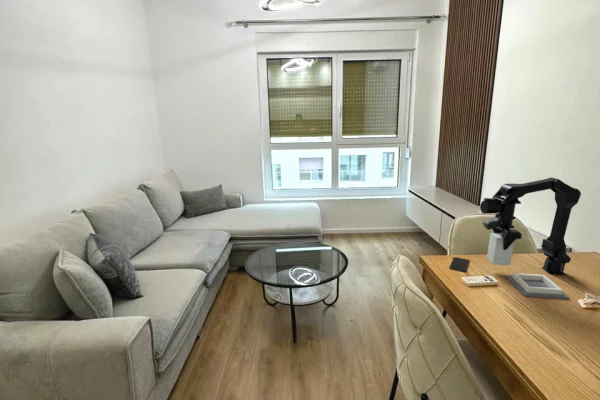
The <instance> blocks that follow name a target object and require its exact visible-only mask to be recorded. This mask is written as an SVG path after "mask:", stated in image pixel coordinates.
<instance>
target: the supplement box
mask: <svg viewBox="0 0 600 400" xmlns="http://www.w3.org/2000/svg"><path fill="white" fill-rule="evenodd" d="M500 235H502V233H494V232H490V234H489V241H488V247H487V254H486V258H487V260H488V261H490V263H491V264H492V265H495V266H511V263H512V256H513V251H514V246H515V241H514V242H513V243H512V244H511V245H510V246H509V247H508V249H507V250H504V249H503V238H502V237H501V236H500Z"/></svg>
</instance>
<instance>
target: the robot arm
mask: <svg viewBox="0 0 600 400" xmlns="http://www.w3.org/2000/svg"><path fill="white" fill-rule="evenodd" d="M547 190H551V191H552V192H554V201H555V203H556V209H555V213H554V217H553V222H552V227H551V229H550V235H549V236H548V237H547V238H543V239H542V243H541V246H540V248H541V251H543V254H544V256H546V259H545V260H544V265H543V266H541V267H542V269H543V270H544V271H546V272H547V273H548V274H550V275H563V276H566V275H567V273H566V272H564V271H565V267H566V264H570V262H571V260H572V258H571V257H570V256H569V255H568V254H567V244H566V242H565V235H566V231H567V229H568V224H569V220H570V217H571V212H572V209H573V207H575V206H576V205H577V204H578V203H579V201H580V198H581V195H582V191H580V189H578V188H575V187H572V186H571V185H569V184H567V183H565V182H564V181H563V180H561V179H560V178H556V177H548V178H545V179H539V180H535V181H529V182H525V183H503V184H502V185H501V186H500V187H499V188H498V190H497V192H495V193H494V194H493V195H492V198H491V197H490V198H489V197H484V198H483V200H482V201H481V202H480V206H479V210H480V213H482V214H486V215H487V214H493V215H494V214H495V215H494V217H489V218H485V219H483V220H482V224H483V228H484V229H486V230H488V231H489V230H491V231H492V233H502V235H500V236H501V237H502V238H503V249H504V250H507V249H508V247H509V246H510V245H511V244H512V243H513V242H514V243H515V241H516V240H521V239H522V238H523V237H522V236H523V234H522V233H521V232H520V231H519V230H518V229H516V228H515V225H513V224H514V223H513V221H514V220H516V218H517V217H516V216H515V209H516V206H517V205H521V204H522V202H521V201H520V200H519V198H523V197H524V196H525V195H528V194H532V193H536V192H541V191H547ZM514 228H515V229H514Z"/></svg>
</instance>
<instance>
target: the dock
mask: <svg viewBox="0 0 600 400" xmlns="http://www.w3.org/2000/svg"><path fill="white" fill-rule="evenodd" d="M504 277H505V278H506V279H507V280H508V281H509V282H510V283H511V284H512V285H513V286H514V287H515V288H516V289H517V291H519V292H520V293H521V295H522V296H524V297H532V298H546V299H561V300H569V299H570V296H569V295H567V294H566V293H565V292H564V291H563V289H562V288H561V287H560V286H559V285H557V284H556V283H555V282H553V281H552V280H551V279H550V278H549V277H547V276H546V275H544V274H537V273H536V274H534V273H533V274H532V273H517V272H514V273H512V274H510V275H509V274H508V275H507V274H505V276H504Z"/></svg>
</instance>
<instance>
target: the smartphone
mask: <svg viewBox="0 0 600 400" xmlns="http://www.w3.org/2000/svg"><path fill="white" fill-rule="evenodd" d="M470 261H471V260H470V259H466V258H463V257H462V258H461V257H458V256H457V257H456V256H454V257H453V258H452V261H451V262H450V265H449V266H448V268H449V270H452V271H456V272H457V271H458V272H461V273H467V272H468V268H469V265H470V263H471V262H470Z"/></svg>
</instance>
